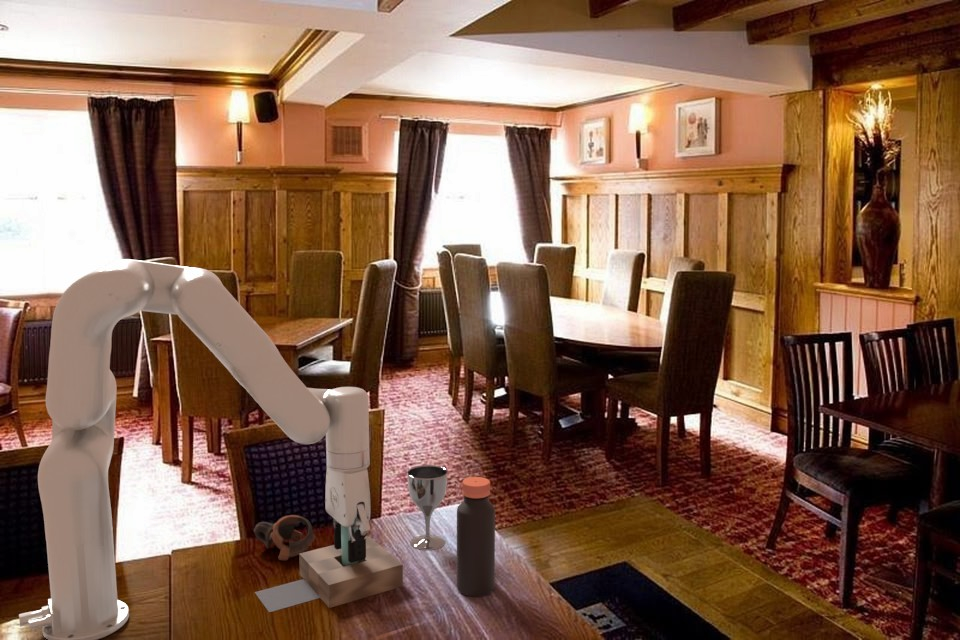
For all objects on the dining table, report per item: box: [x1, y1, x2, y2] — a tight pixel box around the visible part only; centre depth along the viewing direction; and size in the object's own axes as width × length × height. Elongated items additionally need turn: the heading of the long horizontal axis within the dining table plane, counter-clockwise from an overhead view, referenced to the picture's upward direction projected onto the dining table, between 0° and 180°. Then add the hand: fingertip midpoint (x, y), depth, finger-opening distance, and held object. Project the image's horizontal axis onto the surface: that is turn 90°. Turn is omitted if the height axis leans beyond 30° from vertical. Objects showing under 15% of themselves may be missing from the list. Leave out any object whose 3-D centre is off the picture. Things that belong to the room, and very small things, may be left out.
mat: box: [254, 578, 321, 613], centre depth 137 cm, size 10×8×1 cm
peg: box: [341, 519, 359, 567], centre depth 141 cm, size 3×3×12 cm
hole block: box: [298, 535, 404, 609], centre depth 142 cm, size 14×14×4 cm
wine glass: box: [407, 464, 448, 551], centre depth 157 cm, size 8×8×15 cm
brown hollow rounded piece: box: [253, 514, 316, 561], centre depth 154 cm, size 12×10×8 cm
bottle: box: [456, 476, 496, 597], centre depth 139 cm, size 7×7×20 cm
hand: (350, 552), depth 141 cm, fingers open, 5 cm apart
